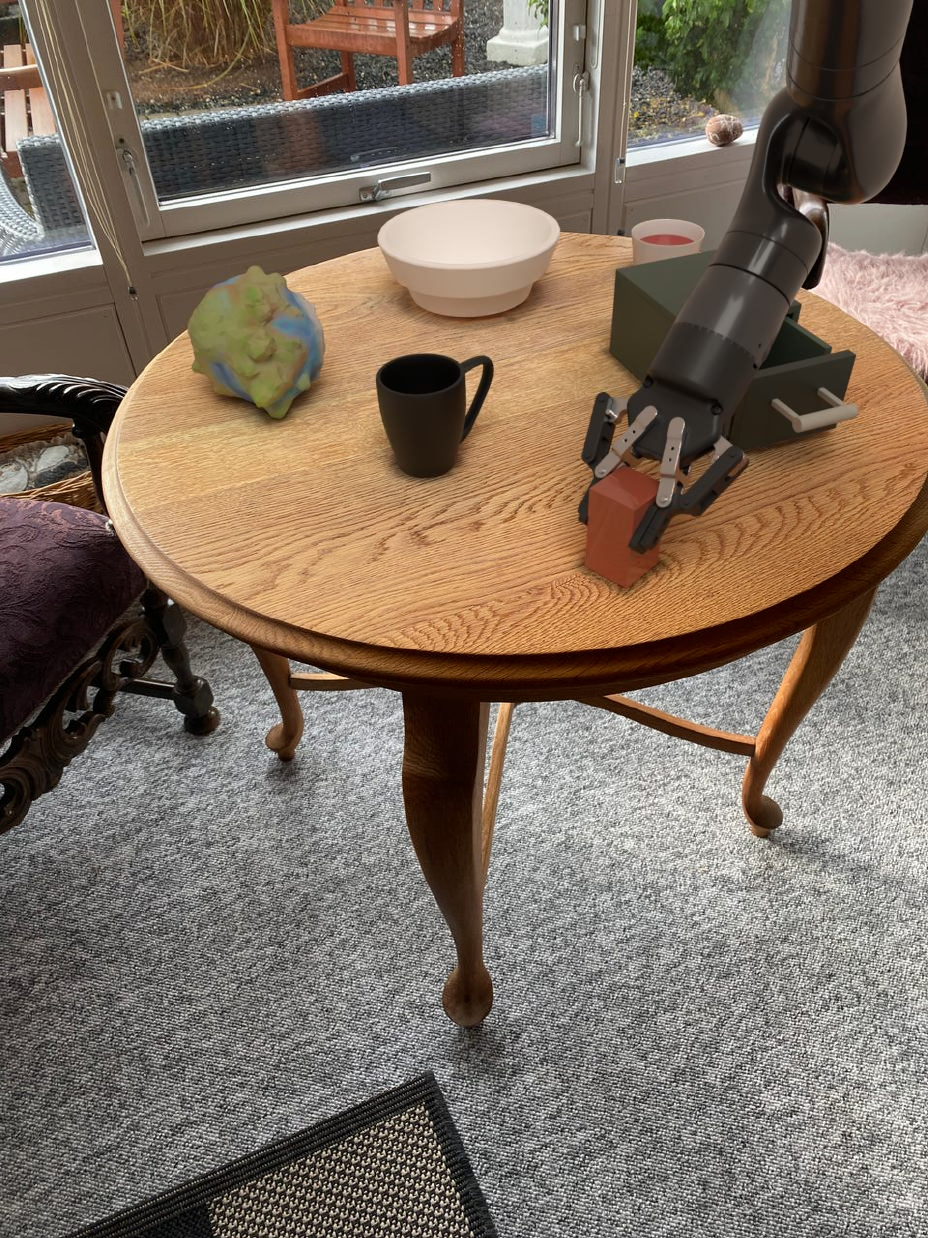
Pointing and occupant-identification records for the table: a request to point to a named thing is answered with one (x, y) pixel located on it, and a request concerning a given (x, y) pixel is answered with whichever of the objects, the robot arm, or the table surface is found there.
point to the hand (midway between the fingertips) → (610, 537)
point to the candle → (665, 240)
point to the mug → (429, 408)
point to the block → (619, 525)
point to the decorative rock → (257, 340)
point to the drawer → (794, 391)
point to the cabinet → (655, 306)
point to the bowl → (469, 254)
